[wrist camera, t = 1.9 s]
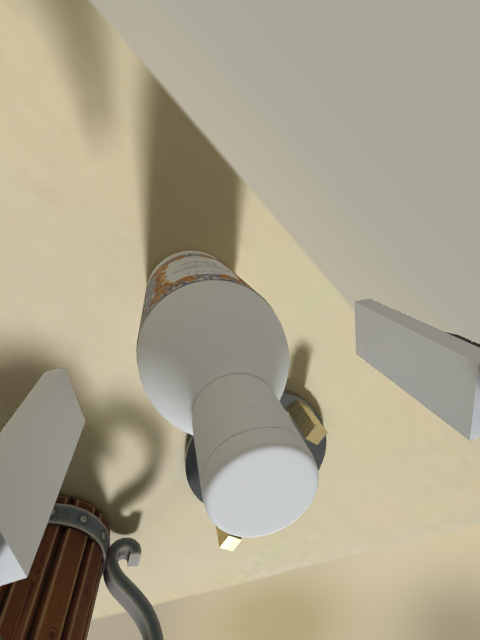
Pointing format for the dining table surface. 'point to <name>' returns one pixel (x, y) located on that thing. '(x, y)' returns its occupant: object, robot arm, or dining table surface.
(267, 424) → the bath foam
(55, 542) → the mug
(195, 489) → the disc
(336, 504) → the dining table surface
